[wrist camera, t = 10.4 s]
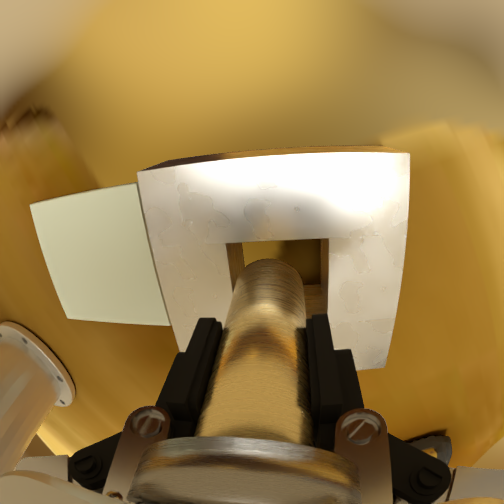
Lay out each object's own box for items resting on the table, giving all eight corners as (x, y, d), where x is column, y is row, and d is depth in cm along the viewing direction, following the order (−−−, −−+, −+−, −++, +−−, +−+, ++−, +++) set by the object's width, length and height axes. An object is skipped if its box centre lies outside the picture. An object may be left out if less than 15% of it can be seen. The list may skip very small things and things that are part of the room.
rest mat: (70, 314, 22) (67, 318, 22) (34, 202, 18) (29, 205, 18) (172, 320, 21) (169, 325, 20) (140, 181, 17) (136, 183, 17)
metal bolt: (205, 239, 13) (82, 465, 4) (326, 233, 12) (396, 489, 3) (222, 333, 15) (168, 533, 6) (323, 330, 14) (344, 542, 5)
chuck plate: (201, 332, 21) (186, 371, 18) (168, 160, 16) (136, 172, 13) (371, 327, 19) (384, 367, 16) (382, 145, 15) (409, 153, 11)
